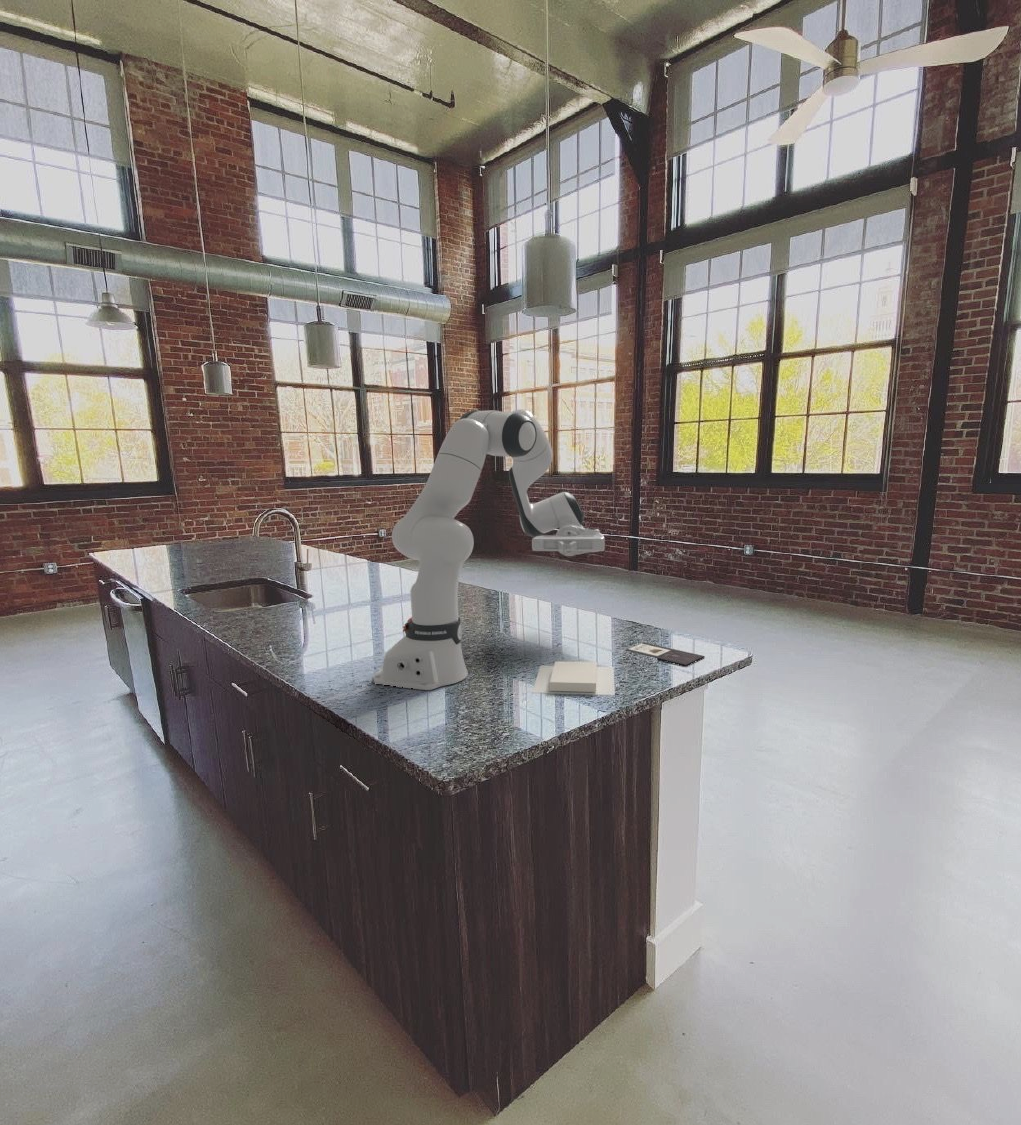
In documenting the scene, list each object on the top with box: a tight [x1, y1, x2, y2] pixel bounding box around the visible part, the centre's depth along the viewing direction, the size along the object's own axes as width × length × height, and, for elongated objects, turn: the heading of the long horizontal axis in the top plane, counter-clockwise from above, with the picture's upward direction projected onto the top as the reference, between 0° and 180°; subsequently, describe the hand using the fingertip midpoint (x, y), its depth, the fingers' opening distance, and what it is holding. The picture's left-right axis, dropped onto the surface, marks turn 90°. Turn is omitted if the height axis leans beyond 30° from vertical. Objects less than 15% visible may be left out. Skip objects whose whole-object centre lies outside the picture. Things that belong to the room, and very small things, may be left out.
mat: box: [531, 665, 616, 696], centre depth 139 cm, size 18×18×1 cm
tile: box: [550, 661, 598, 692], centre depth 137 cm, size 10×2×14 cm
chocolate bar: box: [625, 642, 705, 667], centre depth 156 cm, size 9×1×18 cm
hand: (566, 547), depth 160 cm, fingers closed
